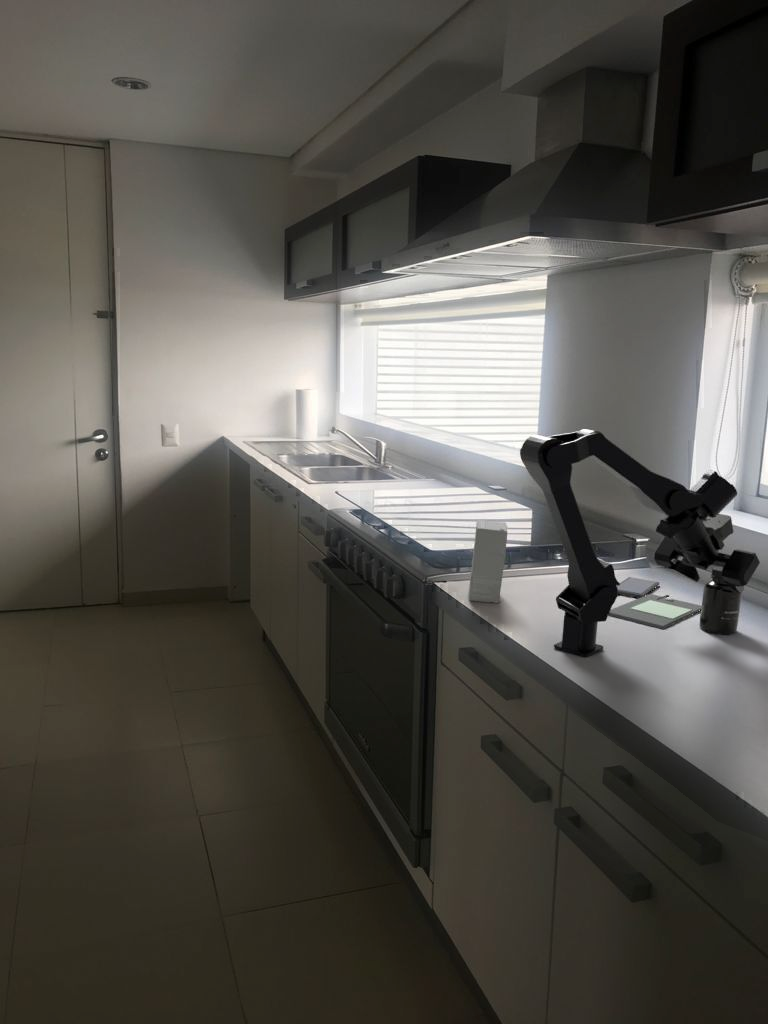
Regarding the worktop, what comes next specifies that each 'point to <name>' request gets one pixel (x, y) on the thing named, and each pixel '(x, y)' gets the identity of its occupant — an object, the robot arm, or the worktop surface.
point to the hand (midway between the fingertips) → (719, 585)
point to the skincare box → (488, 561)
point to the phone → (636, 587)
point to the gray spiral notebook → (655, 611)
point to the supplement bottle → (719, 605)
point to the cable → (648, 592)
